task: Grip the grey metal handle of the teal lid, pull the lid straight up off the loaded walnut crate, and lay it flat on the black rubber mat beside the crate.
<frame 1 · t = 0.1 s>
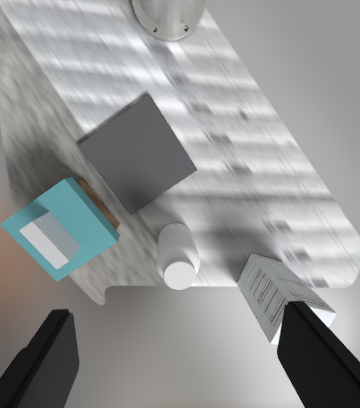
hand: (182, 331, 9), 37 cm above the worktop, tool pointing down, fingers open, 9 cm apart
mat: (139, 158, 43), on the worktop
supplement box: (259, 272, 53), on the worktop
pill bottle: (175, 238, 49), on the worktop
lid: (67, 227, 40), point 6 cm above the worktop, touching crate
crate: (80, 217, 45), on the worktop
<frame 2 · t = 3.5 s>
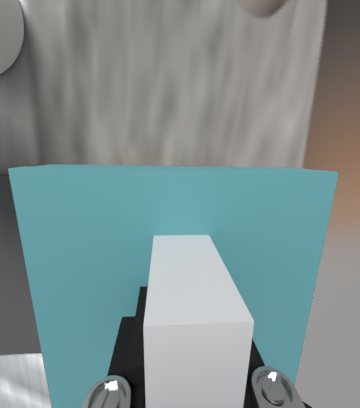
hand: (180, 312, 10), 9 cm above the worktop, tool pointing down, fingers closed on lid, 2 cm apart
lid: (176, 275, 13), point 6 cm above the worktop, touching crate, gripper
when the fingers open (5 cm above the worktop, at t = 9.8 s): lid drops 1 cm, resting on mat.
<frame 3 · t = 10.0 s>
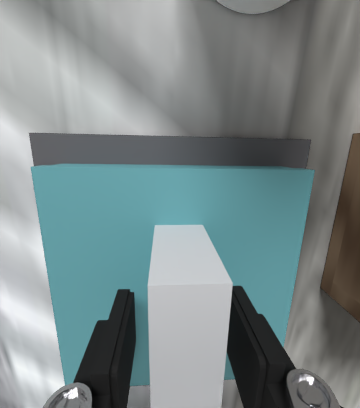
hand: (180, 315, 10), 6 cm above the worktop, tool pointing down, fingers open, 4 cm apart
mat: (174, 257, 16), on the worktop
lid: (175, 263, 15), point 1 cm above the worktop, touching mat
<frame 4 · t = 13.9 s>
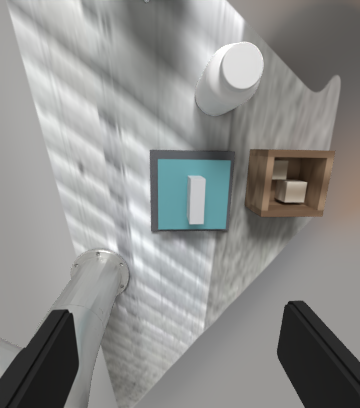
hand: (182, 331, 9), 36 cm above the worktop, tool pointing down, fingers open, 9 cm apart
mat: (191, 191, 45), on the worktop
pill bottle: (214, 95, 41), on the worktop
lid: (191, 192, 44), point 1 cm above the worktop, touching mat
crate: (274, 178, 46), on the worktop
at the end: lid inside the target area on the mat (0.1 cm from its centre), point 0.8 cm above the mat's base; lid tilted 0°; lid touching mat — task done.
